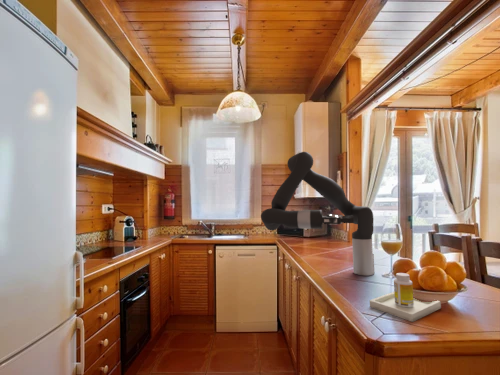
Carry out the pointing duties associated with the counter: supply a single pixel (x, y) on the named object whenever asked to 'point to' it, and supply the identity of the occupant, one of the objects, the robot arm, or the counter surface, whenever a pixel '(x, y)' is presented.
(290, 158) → the robot arm
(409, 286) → the supplement bottle
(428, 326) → the counter surface
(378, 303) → the tray
